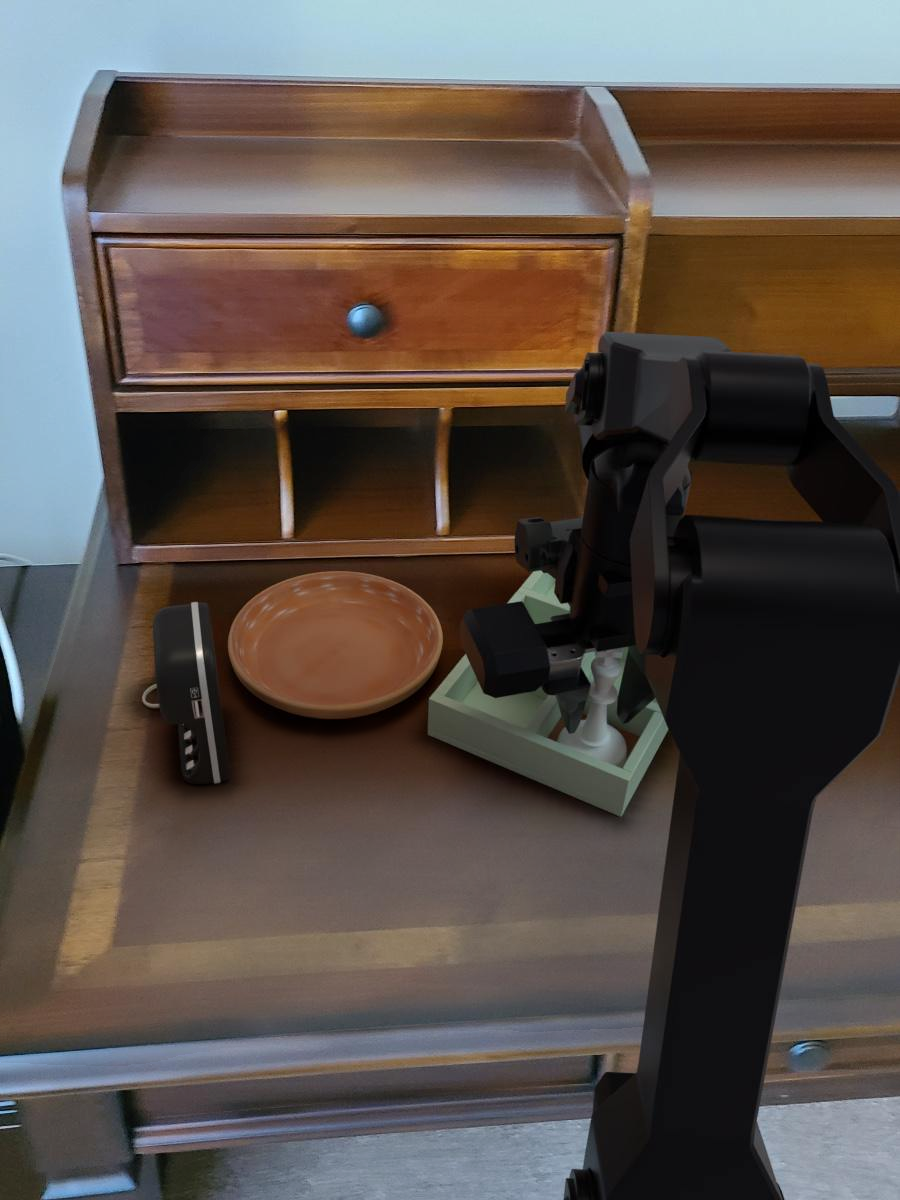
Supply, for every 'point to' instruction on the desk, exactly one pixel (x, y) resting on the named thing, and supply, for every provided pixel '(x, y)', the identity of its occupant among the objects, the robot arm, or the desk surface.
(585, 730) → the chess piece
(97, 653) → the desk surface
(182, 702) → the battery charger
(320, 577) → the saucer
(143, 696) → the ring
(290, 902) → the desk surface
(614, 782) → the compartment tray
